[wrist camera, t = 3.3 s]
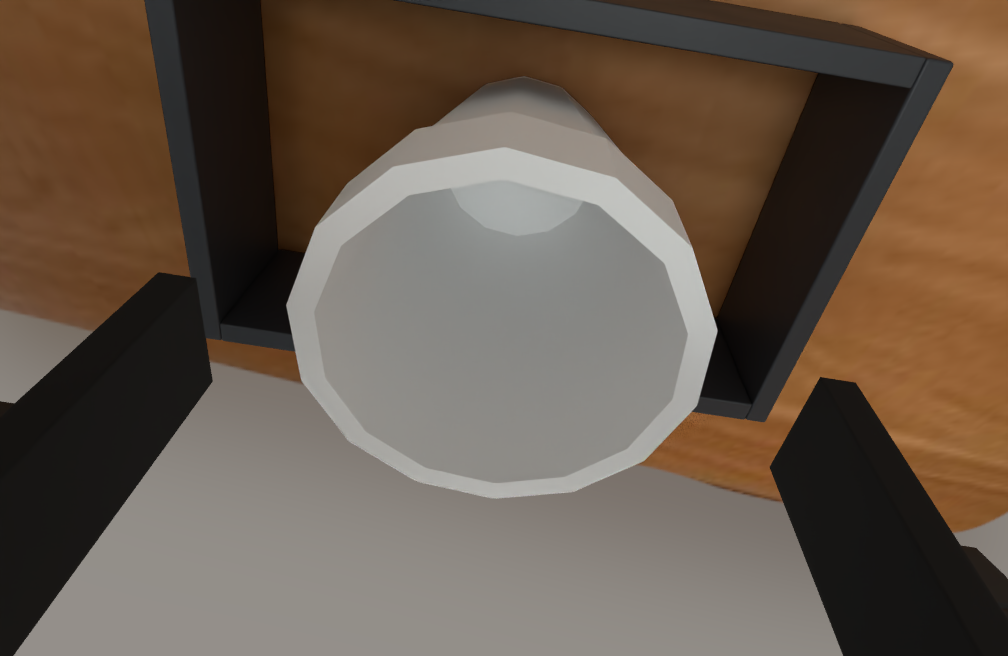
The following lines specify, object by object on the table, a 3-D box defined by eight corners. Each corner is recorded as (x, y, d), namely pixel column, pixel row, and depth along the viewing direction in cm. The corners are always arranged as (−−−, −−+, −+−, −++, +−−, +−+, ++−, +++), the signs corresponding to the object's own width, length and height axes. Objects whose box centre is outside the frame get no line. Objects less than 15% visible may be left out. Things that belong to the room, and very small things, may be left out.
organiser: (261, 261, 28) (200, 337, 23) (230, -84, 20) (129, -80, 15) (727, 334, 29) (765, 423, 24) (861, 26, 21) (956, 62, 16)
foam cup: (386, 231, 27) (276, 450, 16) (424, -2, 21) (300, 89, 11) (595, 285, 27) (624, 528, 17) (680, 75, 22) (801, 229, 12)
